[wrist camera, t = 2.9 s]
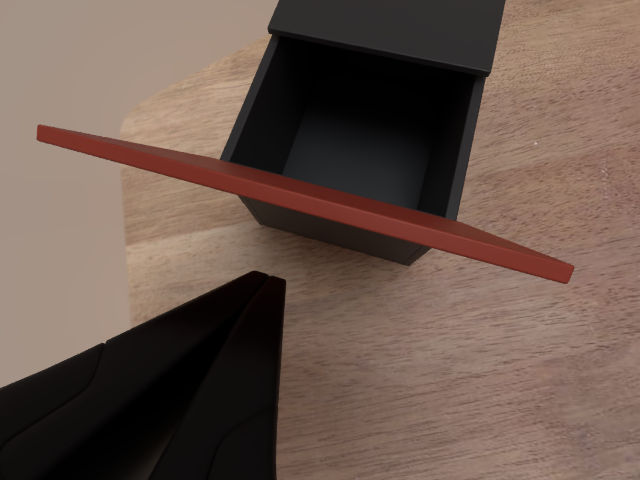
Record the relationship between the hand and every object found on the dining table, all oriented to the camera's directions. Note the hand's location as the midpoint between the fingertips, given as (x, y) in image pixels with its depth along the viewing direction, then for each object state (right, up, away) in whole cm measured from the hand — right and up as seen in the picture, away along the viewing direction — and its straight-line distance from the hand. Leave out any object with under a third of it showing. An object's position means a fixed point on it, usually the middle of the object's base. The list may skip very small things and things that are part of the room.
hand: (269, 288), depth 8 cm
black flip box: (+4, +8, +16) cm, 18 cm away
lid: (+1, +3, +2) cm, 3 cm away
